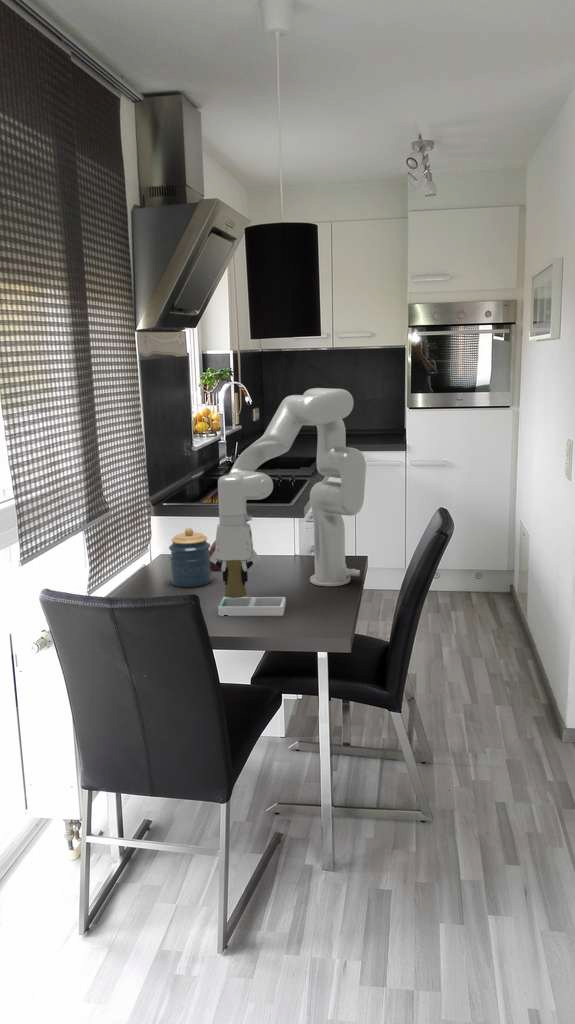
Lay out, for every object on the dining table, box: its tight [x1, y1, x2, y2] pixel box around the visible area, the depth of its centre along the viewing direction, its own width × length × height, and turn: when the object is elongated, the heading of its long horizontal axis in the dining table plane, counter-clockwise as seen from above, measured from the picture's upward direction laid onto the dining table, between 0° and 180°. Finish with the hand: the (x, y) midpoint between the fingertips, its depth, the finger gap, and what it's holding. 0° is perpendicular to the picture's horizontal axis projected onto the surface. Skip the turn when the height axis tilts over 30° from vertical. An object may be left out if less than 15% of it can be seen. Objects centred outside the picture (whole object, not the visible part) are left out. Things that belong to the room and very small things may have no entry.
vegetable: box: [209, 539, 222, 572], centre depth 277 cm, size 10×10×15 cm
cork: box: [224, 560, 247, 598], centre depth 231 cm, size 6×6×11 cm
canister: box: [168, 527, 213, 588], centre depth 261 cm, size 13×13×18 cm
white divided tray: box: [217, 596, 287, 617], centre depth 232 cm, size 18×9×2 cm, turn 85°
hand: (235, 583), depth 231 cm, fingers closed on cork, 4 cm apart
